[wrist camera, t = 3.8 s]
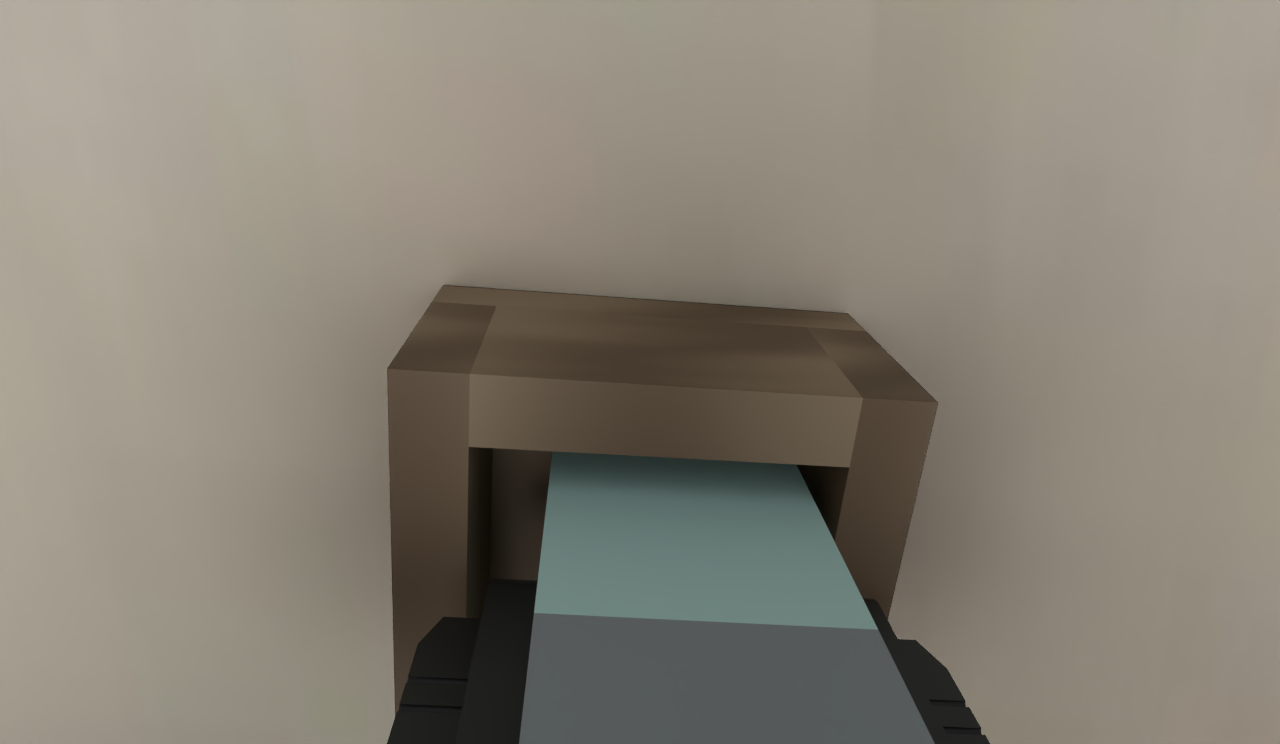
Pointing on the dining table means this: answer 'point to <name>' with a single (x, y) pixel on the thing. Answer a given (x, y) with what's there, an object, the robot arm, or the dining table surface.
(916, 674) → the robot arm
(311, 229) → the dining table surface
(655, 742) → the plug
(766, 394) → the wooden box
